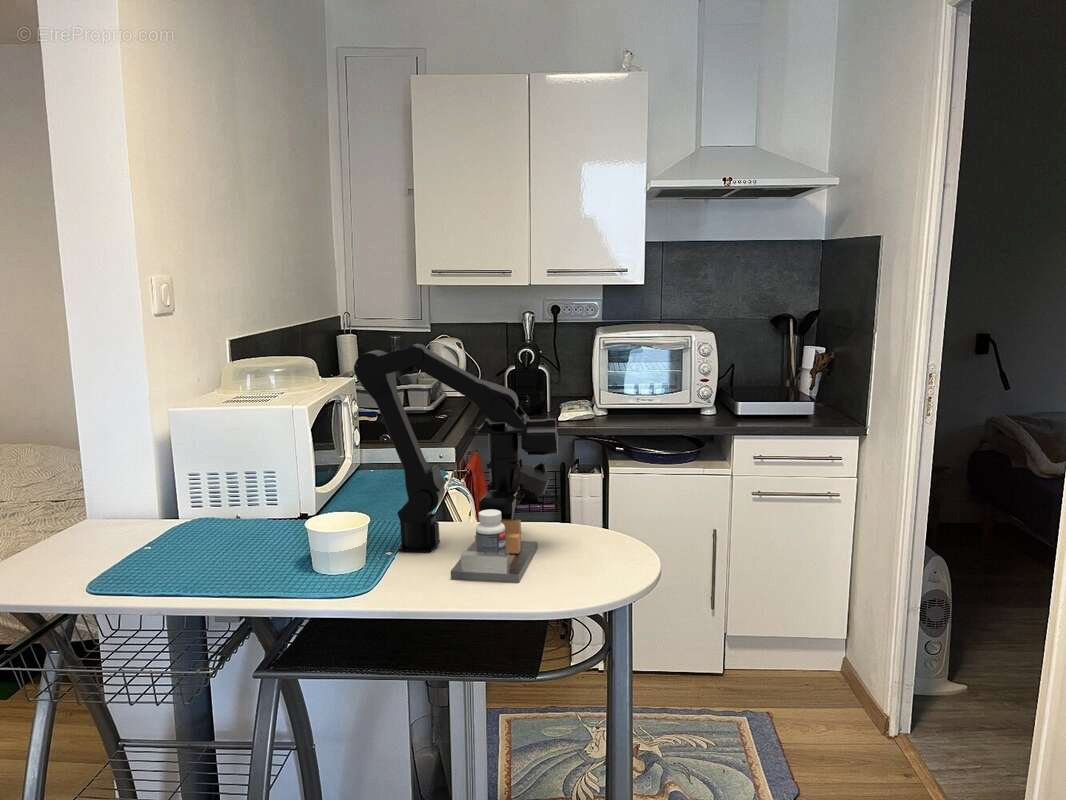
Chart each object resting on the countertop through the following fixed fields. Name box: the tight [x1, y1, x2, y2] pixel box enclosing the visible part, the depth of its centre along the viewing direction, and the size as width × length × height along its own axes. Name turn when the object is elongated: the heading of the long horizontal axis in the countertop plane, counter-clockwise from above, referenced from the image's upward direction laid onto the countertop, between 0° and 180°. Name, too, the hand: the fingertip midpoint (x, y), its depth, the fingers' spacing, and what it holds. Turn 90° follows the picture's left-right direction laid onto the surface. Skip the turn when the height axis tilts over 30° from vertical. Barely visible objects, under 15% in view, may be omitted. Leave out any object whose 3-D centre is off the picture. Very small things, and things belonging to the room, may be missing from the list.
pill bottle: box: [475, 509, 506, 553], centre depth 140 cm, size 5×5×9 cm
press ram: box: [474, 518, 522, 553], centre depth 148 cm, size 8×8×4 cm
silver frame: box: [450, 540, 538, 584], centre depth 144 cm, size 12×17×4 cm
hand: (507, 532), depth 153 cm, fingers closed
